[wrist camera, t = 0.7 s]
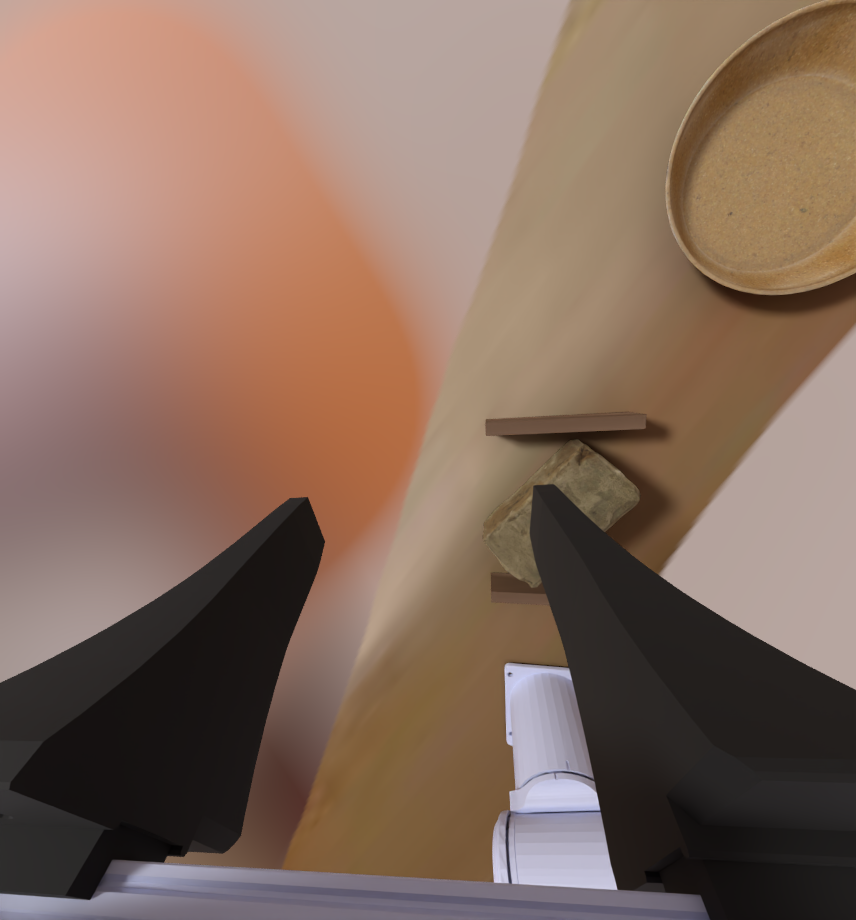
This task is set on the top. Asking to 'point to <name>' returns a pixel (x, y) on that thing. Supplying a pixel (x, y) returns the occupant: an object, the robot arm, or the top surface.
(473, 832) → the top surface
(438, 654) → the top surface
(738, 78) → the plant saucer
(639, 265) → the top surface
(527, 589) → the chute
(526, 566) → the stone block
